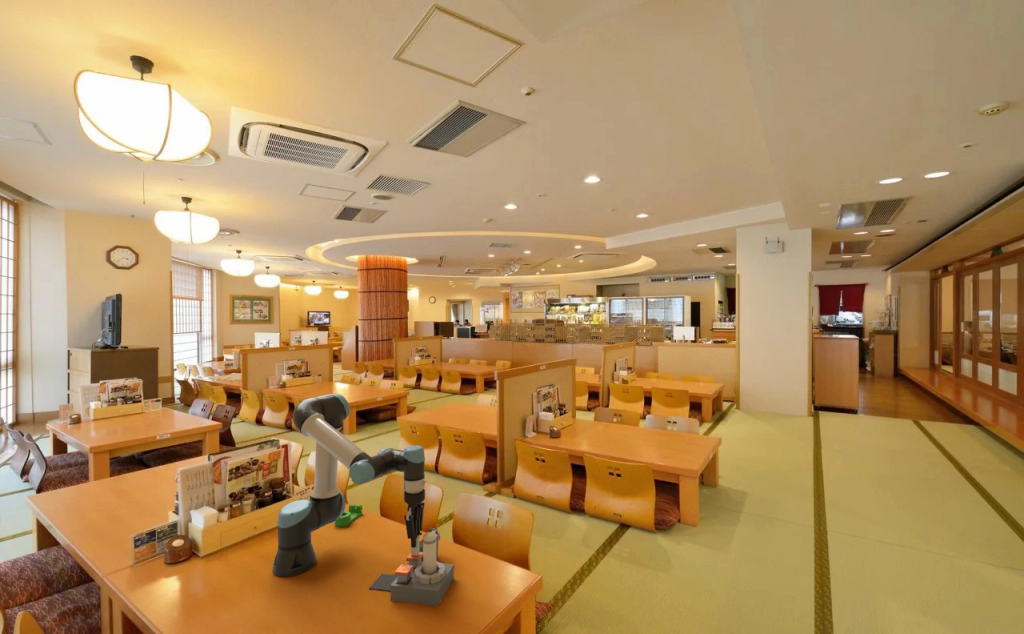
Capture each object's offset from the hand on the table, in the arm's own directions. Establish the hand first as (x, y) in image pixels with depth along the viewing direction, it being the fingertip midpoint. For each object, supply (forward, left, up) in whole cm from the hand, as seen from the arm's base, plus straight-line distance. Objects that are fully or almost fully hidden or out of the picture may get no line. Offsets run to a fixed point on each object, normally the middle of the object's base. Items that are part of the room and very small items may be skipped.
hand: (415, 554), depth 159 cm
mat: (-10, -3, -9) cm, 14 cm away
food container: (+1, +14, -10) cm, 17 cm away
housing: (+5, -4, -9) cm, 11 cm away
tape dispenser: (-53, +41, -10) cm, 67 cm away
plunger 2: (0, 0, -7) cm, 7 cm away
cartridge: (+7, -4, -4) cm, 10 cm away
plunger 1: (0, -9, -7) cm, 11 cm away
